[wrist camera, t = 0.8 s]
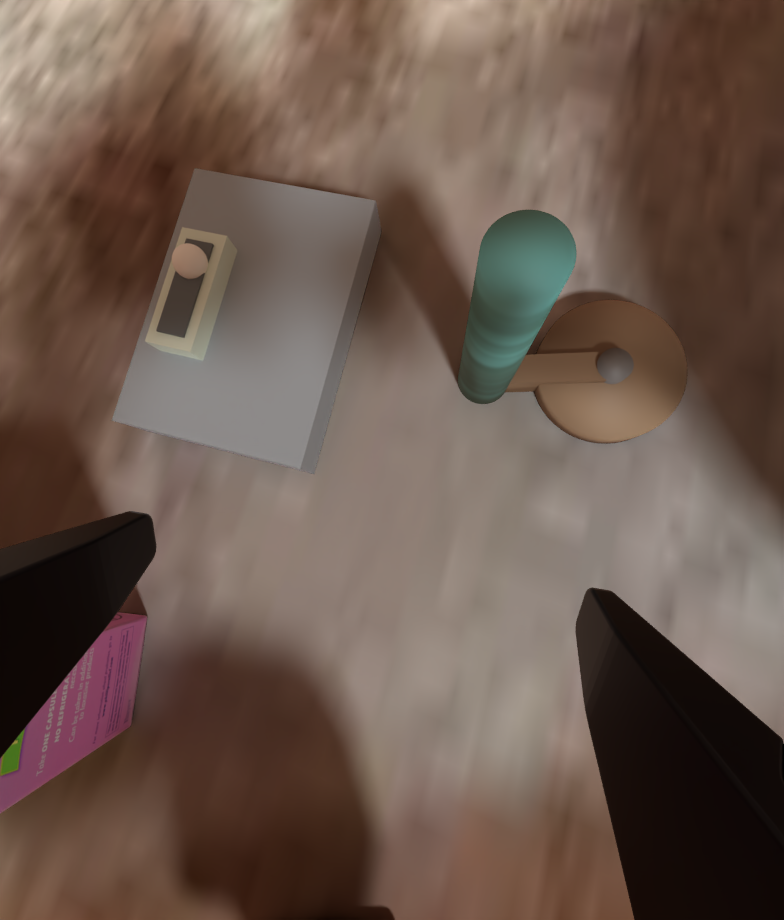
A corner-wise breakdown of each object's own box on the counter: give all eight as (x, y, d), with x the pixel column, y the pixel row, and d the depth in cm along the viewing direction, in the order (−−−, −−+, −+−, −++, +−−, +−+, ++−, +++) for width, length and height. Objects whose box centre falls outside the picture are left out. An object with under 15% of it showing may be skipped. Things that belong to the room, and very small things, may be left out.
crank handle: (659, 458, 23) (887, 396, 11) (449, 409, 24) (464, 310, 13) (686, 325, 23) (926, 142, 12) (480, 285, 25) (521, 84, 13)
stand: (314, 473, 24) (284, 463, 19) (143, 429, 25) (76, 409, 21) (381, 231, 25) (369, 165, 21) (216, 200, 27) (169, 131, 22)
